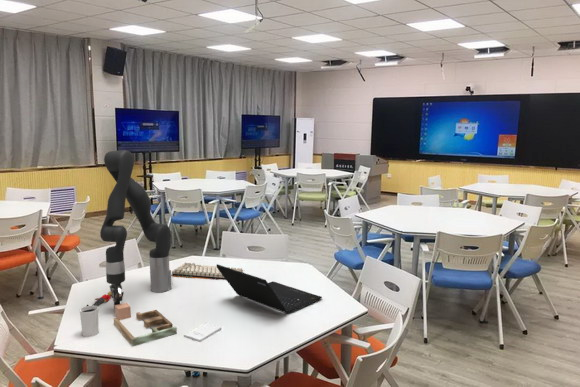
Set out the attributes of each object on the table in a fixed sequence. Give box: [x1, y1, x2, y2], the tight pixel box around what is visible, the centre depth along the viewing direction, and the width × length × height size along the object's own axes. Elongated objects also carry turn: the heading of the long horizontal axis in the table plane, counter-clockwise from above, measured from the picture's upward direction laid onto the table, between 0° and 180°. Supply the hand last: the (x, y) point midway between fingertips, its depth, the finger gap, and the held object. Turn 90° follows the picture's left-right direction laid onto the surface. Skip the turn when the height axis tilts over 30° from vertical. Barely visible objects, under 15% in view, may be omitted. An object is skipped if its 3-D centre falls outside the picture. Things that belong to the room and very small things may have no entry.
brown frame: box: [113, 309, 178, 347], centre depth 175 cm, size 17×23×2 cm
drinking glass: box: [79, 304, 100, 338], centre depth 170 cm, size 7×7×10 cm
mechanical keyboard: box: [171, 262, 245, 281], centre depth 243 cm, size 38×19×3 cm, turn 80°
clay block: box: [114, 302, 132, 321], centre depth 186 cm, size 5×5×5 cm
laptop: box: [216, 263, 323, 314], centre depth 203 cm, size 33×38×19 cm
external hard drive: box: [183, 322, 222, 343], centre depth 172 cm, size 2×8×12 cm
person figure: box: [86, 291, 112, 307], centre depth 202 cm, size 5×4×18 cm
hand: (117, 309), depth 191 cm, fingers closed
